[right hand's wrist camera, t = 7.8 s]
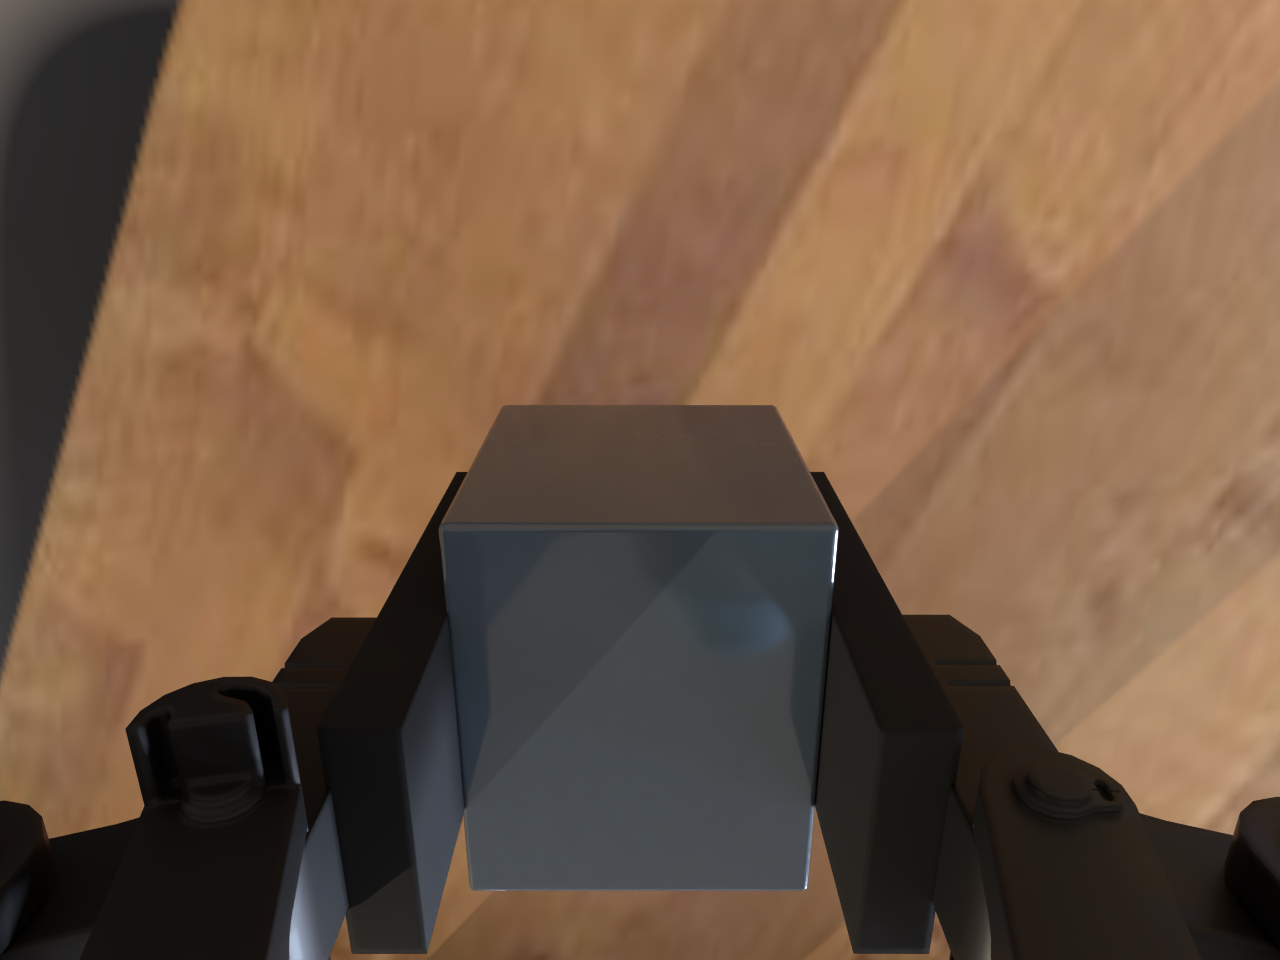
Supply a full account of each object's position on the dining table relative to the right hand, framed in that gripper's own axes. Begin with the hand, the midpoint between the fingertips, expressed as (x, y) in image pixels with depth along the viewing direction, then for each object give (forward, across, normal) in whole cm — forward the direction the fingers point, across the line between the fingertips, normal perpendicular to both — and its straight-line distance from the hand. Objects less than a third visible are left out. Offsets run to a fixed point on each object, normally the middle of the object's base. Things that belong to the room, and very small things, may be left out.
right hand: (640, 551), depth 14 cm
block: (0, 0, 0) cm, 0 cm away
